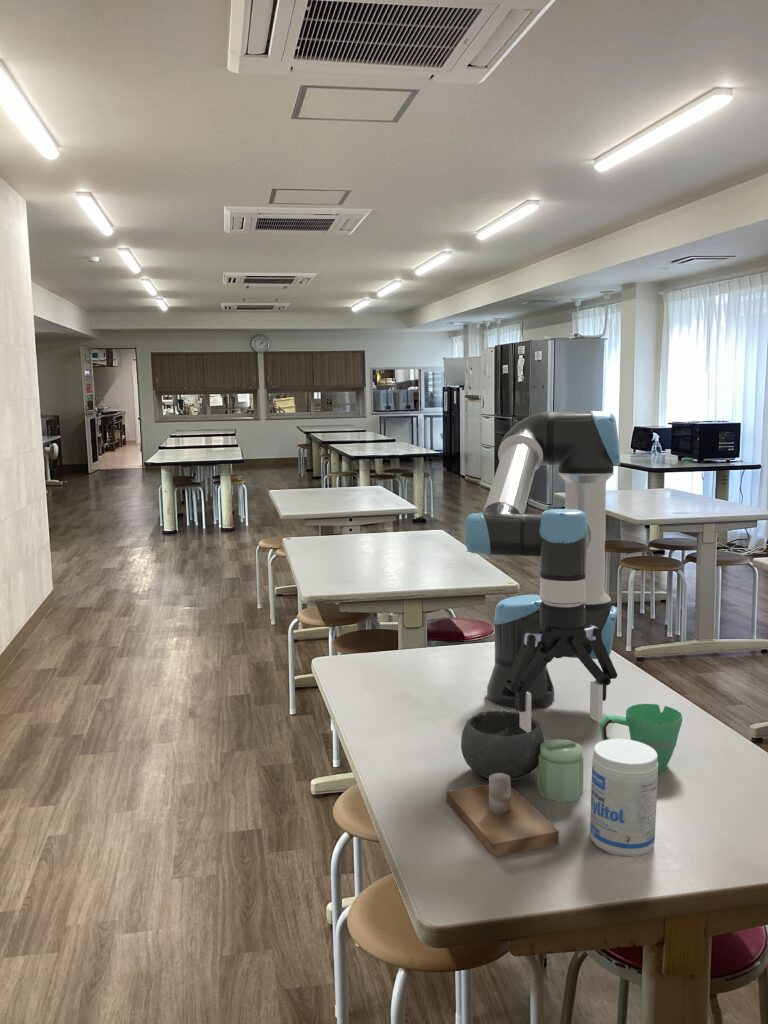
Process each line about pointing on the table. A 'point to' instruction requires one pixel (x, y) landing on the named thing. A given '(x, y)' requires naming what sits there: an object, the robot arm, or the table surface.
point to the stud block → (501, 817)
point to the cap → (561, 770)
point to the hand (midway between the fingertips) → (561, 724)
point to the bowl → (501, 744)
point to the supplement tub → (623, 797)
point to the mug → (650, 728)
